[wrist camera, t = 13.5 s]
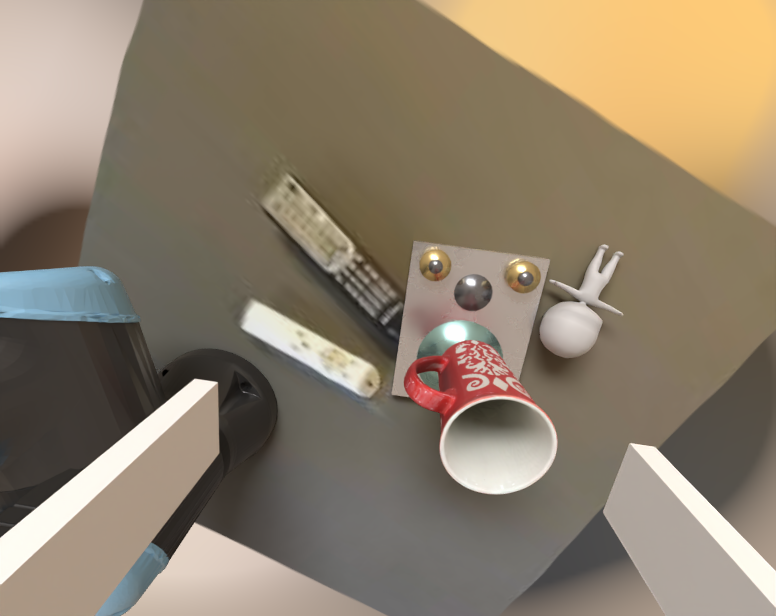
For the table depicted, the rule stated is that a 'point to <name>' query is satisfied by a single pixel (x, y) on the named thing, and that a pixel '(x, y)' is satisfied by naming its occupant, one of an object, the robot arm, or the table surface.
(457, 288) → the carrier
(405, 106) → the table surface
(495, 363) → the mug
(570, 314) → the figurine
